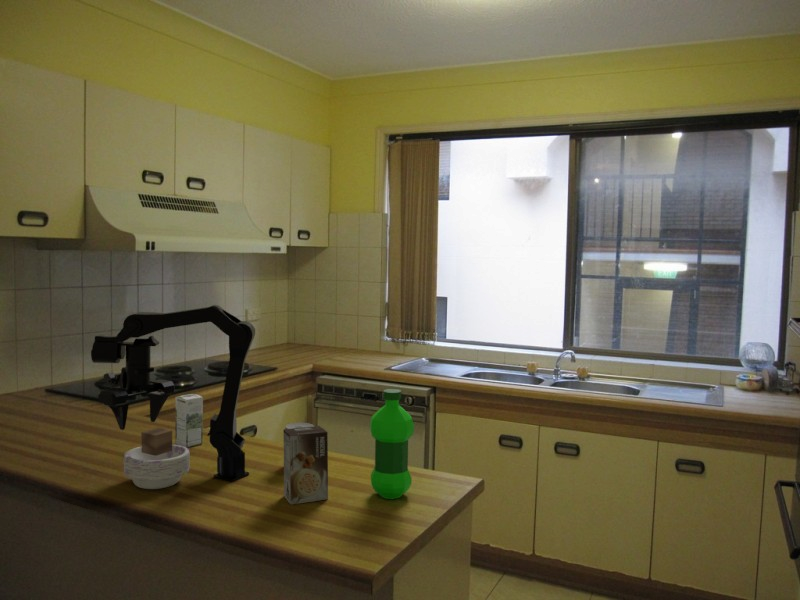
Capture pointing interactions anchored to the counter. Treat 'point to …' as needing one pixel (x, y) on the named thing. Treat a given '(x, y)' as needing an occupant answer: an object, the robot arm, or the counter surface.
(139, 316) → the robot arm
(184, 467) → the paper bowls
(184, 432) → the syrup box
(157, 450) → the walnut block
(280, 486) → the counter surface
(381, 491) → the plastic bottle
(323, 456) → the coffee box
